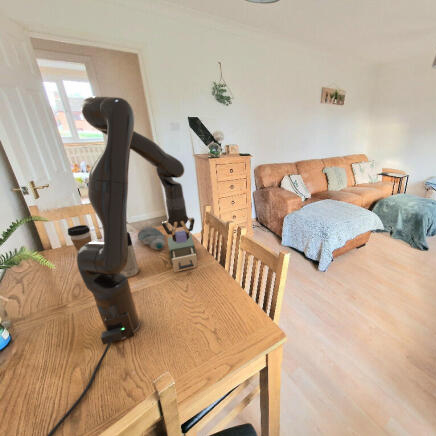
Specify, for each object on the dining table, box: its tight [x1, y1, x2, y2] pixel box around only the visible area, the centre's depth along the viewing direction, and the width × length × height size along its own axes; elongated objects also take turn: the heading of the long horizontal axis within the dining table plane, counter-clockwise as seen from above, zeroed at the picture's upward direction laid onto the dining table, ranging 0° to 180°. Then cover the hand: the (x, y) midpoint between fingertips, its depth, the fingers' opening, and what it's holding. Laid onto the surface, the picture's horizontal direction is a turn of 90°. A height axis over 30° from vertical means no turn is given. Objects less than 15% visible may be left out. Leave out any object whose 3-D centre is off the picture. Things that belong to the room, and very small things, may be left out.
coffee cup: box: [67, 224, 93, 253], centre depth 121 cm, size 8×8×15 cm
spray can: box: [121, 231, 140, 278], centre depth 106 cm, size 7×7×20 cm
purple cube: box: [175, 229, 187, 243], centre depth 111 cm, size 4×4×4 cm
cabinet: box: [167, 233, 197, 266], centre depth 124 cm, size 14×12×9 cm
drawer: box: [172, 247, 199, 273], centre depth 115 cm, size 17×10×7 cm, turn 29°
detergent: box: [137, 226, 166, 251], centre depth 134 cm, size 13×7×25 cm
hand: (181, 240), depth 112 cm, fingers closed on purple cube, 4 cm apart
